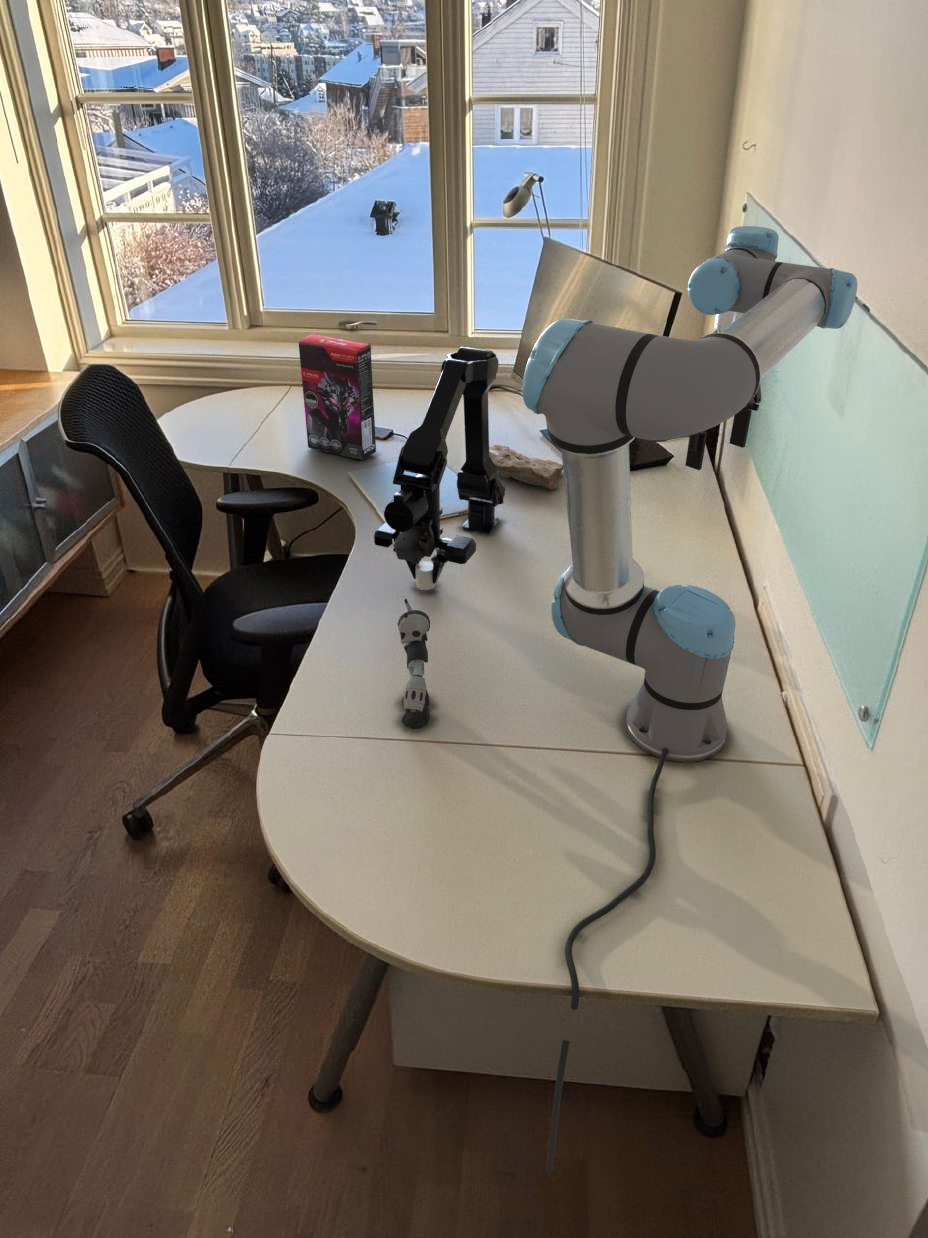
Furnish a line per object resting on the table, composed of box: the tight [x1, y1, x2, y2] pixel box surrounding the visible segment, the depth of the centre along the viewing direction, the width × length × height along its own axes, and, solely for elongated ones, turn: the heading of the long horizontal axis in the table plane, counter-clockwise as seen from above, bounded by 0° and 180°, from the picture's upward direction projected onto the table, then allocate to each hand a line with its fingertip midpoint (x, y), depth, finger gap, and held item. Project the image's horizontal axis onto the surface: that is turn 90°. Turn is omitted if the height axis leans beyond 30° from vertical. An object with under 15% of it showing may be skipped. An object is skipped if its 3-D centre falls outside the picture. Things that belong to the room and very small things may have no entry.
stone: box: [489, 444, 563, 490], centre depth 217 cm, size 21×15×6 cm
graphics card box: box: [297, 333, 377, 461], centre depth 223 cm, size 17×7×27 cm, turn 62°
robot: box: [396, 598, 431, 729], centre depth 141 cm, size 20×5×20 cm, turn 3°
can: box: [415, 561, 436, 591], centre depth 176 cm, size 4×4×4 cm
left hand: (425, 580), depth 176 cm, fingers closed on can, 4 cm apart
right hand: (715, 456), depth 158 cm, fingers open, 13 cm apart
